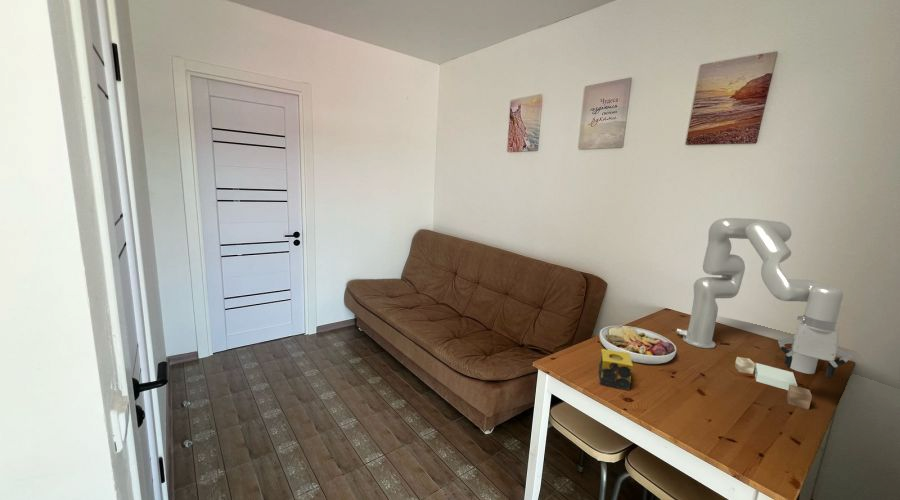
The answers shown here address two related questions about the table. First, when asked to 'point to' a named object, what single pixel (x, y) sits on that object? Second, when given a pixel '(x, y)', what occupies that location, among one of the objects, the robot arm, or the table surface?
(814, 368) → the white cylinder
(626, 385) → the yellow black cube
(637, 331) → the bowl
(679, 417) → the table surface
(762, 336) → the table surface
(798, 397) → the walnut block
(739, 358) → the birch block
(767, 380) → the plate
